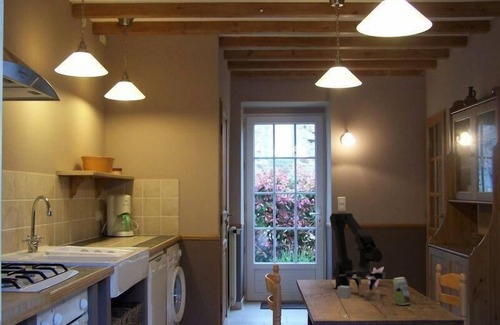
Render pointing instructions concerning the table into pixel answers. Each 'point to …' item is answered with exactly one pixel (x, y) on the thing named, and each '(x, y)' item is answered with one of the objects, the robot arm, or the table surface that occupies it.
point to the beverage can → (401, 291)
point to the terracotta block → (363, 288)
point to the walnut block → (372, 295)
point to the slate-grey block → (344, 291)
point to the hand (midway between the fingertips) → (365, 292)
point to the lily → (375, 272)
